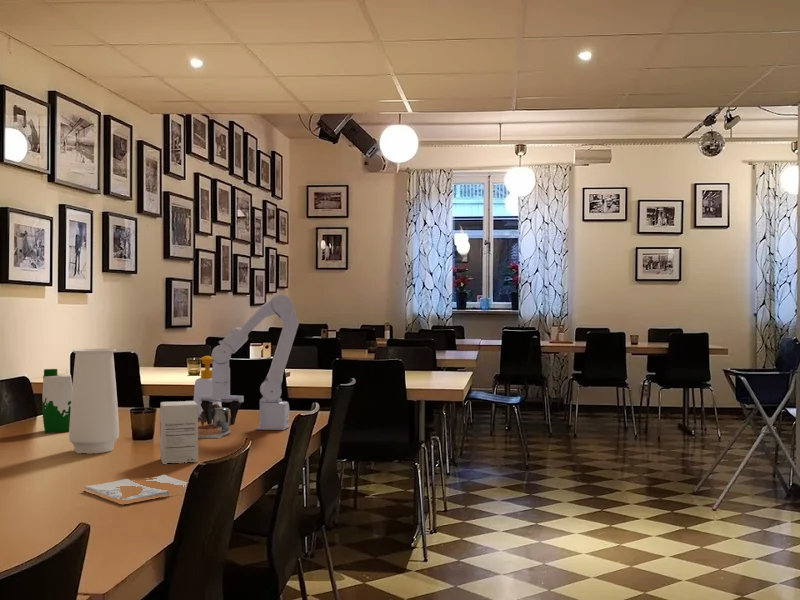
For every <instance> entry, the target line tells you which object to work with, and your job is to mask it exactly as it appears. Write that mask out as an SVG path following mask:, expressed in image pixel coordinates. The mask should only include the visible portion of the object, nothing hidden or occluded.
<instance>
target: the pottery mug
mask: <svg viewBox="0 0 800 600" xmlns="http://www.w3.org/2000/svg"><path fill="white" fill-rule="evenodd" d="M214 408H224V407H223V406H222V407H220V406H219V404H214V405H212V420H213V409H214ZM200 417H201V418H200V424H201V426H204V425H205V423H207V419H206V416H205V413H204V411H202V412H201V414H200ZM230 417H231V416H229V427H231V426H232V425H231V424H230Z"/></svg>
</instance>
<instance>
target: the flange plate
mask: <svg viewBox="0 0 800 600" xmlns="http://www.w3.org/2000/svg"><path fill="white" fill-rule="evenodd" d="M230 433H232V429H229V430H224V429H222V427H221V426H217V425H213V424H210V425H208V424H204V426H202V425H198V439H219V438H222V437H224V436H226V435H228V434H230Z"/></svg>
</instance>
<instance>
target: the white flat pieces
mask: <svg viewBox="0 0 800 600" xmlns="http://www.w3.org/2000/svg"><path fill="white" fill-rule="evenodd" d="M152 478H157V479H153V480H146V481H157V482H160V483H170V484H174V485H183V487H184V485H185V487H186V484H187V483H188V482H187V481H184V480H181V479H178V478H177V479H176V478H174V477H172V476H169V475H167V474H161V475H158V476H154V477H152ZM133 481H134V480H130V479H129V478H123V479H119V480H114V481H107V482H105V483H104V482H103V483H99V484H91V485H83V488H84V489H88V490H91V491H94V492H96V493H99V494H102V495H105V496H108V497H112V498H117V499H120V497H122V492H121V490H120V488H116V487H120V486H136V487H142V489H143V490H142V492H141V493H140V494H138V495H134V496H130V497H127V498H123V499H122V500H132V499H137V498H144V497H153V496H158V495H169V493H170V492H169V491H168V490H161V489H156V488H150V487H146V486H143V485H140V484H138V483H135V482H133Z"/></svg>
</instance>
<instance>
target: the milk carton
mask: <svg viewBox="0 0 800 600" xmlns="http://www.w3.org/2000/svg"><path fill="white" fill-rule="evenodd" d="M42 378H43V379H42V380H43V381H42V383H43V384H42V399H41V400H42V402H41V403H42V422H43V428H44V434H53V433H52V432H59V433H69V426H70V411H71V398H72V386H73V379H72V375H71V374H62V373H60V374H58V369H57V368H44V369H43V375H42Z"/></svg>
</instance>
